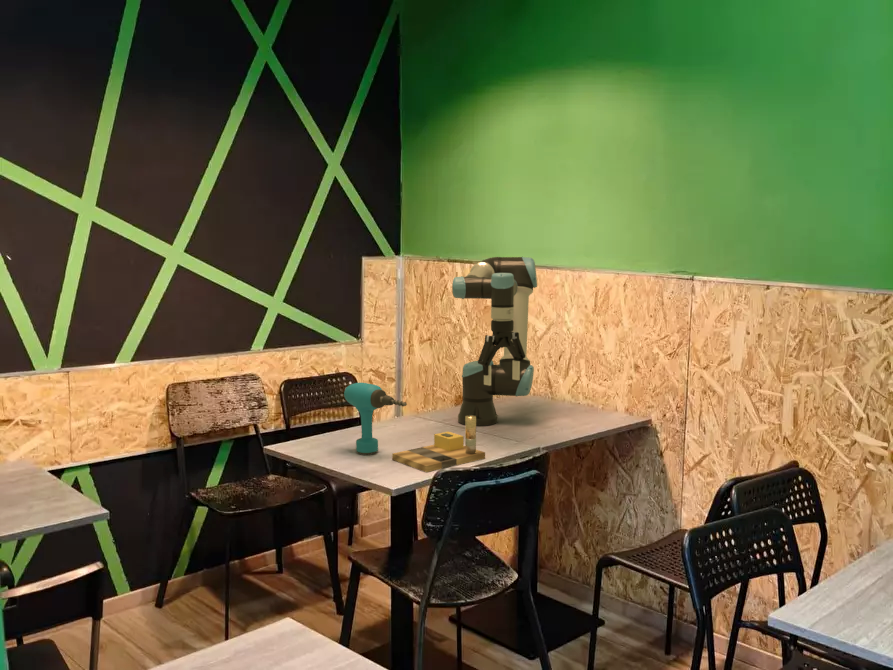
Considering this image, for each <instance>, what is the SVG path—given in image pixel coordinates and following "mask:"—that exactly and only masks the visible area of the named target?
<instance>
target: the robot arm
mask: <svg viewBox="0 0 893 670" xmlns="http://www.w3.org/2000/svg"><path fill="white" fill-rule="evenodd" d="M536 269H537V267H536V262H535V260H534V259H533V258H532V257H526V256H492V257H488V258H485V259H483V260H480V261H478V262H476V263H475V264H473V266H472V267H471V269H470V272H469V273H468V274H467V275H466V276H455V277H454V278H453V279H452V286H451V288H452V289H451V290H452V291H451V292H452V296H453V297H454V298H455V299H462V300H465V299H469V300H471V299H478V300H479V299H481V300H482V299H483V300H484V299H485V300H490V301H491V302H490V303H491V304H490V308H491V309H490V318H491V321H490V330H491V332H492V335H487V334H486V335H485V337H484V343H483V346H482V348H481V351H480V355H479V357H478V360H473V361H470V362H467V363H465V364H464V365H463V366H462V375H461V377H462V403H461V406H460V408H459V409H460V410H459V413H458V415H457V422H458V423H459V424H462V425H465V416H468V415H473V416H476V427H481V426H482V427H484V426H492V425H495V424H497V423H498V414H497V410H496V406H495V404H494V396H507V397H509V396H510V397H511V396H512V397H517V398H518V397H526V396H528V395H529V394H531V393H530V392H531V389H532V387H533V380H534V373H535V368H534V367H535V366H533V365H532V364H531V360H530V359H529V358H528V357H527V351H528V349H527V348H528V328H529V327H528V323H529V305H530V304H529V303H530V298H529V297H530V296H531V295H532V294H533V293H534V289H535V288H537V287H538V277H537V270H536ZM500 349H503V356H502V357H501V358H500V359H499V364H495V363H494V361H493V359H494V357H495V356H496V354H497V352H498V351H499V350H500Z"/></svg>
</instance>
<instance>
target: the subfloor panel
mask: <svg viewBox="0 0 893 670" xmlns="http://www.w3.org/2000/svg"><path fill="white" fill-rule="evenodd" d="M391 457H392V458H391V459H392V461H395V462H398V463H400V464H403V465H405V466H409V467H412V468H414V469H416V470H419V471H421V472H425V473H429V472H435V471H439V470H442V469H446V468H449V467H455V466H459V465H463V464H467V463H471V462H476V461H479V460H484V459H486V452H485V451H482V450H479V449H476V454H466V453H465V445H464V448H461V449H457V450H452V451H447V450H444V449H441V448H438V447H435V446H434V444H432V445H431V444H430V445H426V446H422V447H417V448H413V449H412V448H411V449H408V450H407V449H406V450H403V451H398V452H393V453H392V454H391Z"/></svg>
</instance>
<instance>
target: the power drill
mask: <svg viewBox="0 0 893 670" xmlns="http://www.w3.org/2000/svg"><path fill="white" fill-rule="evenodd" d="M343 396H344V399H345V401H347V403H349V405H351V406H353V407H354V408H355V409H356V410H357V411H358V412H359V414H360V425H361V427H360V428H361V437H360V438H357V439H356V441H355V448H356V449H355V452H356V454H358V455H363V456H370V455H375V454H378V452H379V440H378V438H375V437H373V416H374V415H373V413H374V411H376V410H377V409H382V408H383V407H385V406H393V405H395V406H397V405H398V406H399V407H400V406H401V407H407V405H408V404H407V402H406V401H403V400H399V399H397V400H396V399H395V398H394V397H392V396H390V395H388V394H387V393H386V390H383V389H382V388H381V387H380V386H379V385H378V384H373V383H368V382H355V383H351V384H350V385H348V386H346V387H345V389H344V391H343Z"/></svg>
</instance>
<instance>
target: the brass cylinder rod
mask: <svg viewBox="0 0 893 670" xmlns="http://www.w3.org/2000/svg"><path fill="white" fill-rule="evenodd" d="M464 427H465V436H464V437H465V440H464V441H465V445H464V446H465V453H466V454H476V450H477V426H476V416H473V415H468V416H465V426H464Z"/></svg>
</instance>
